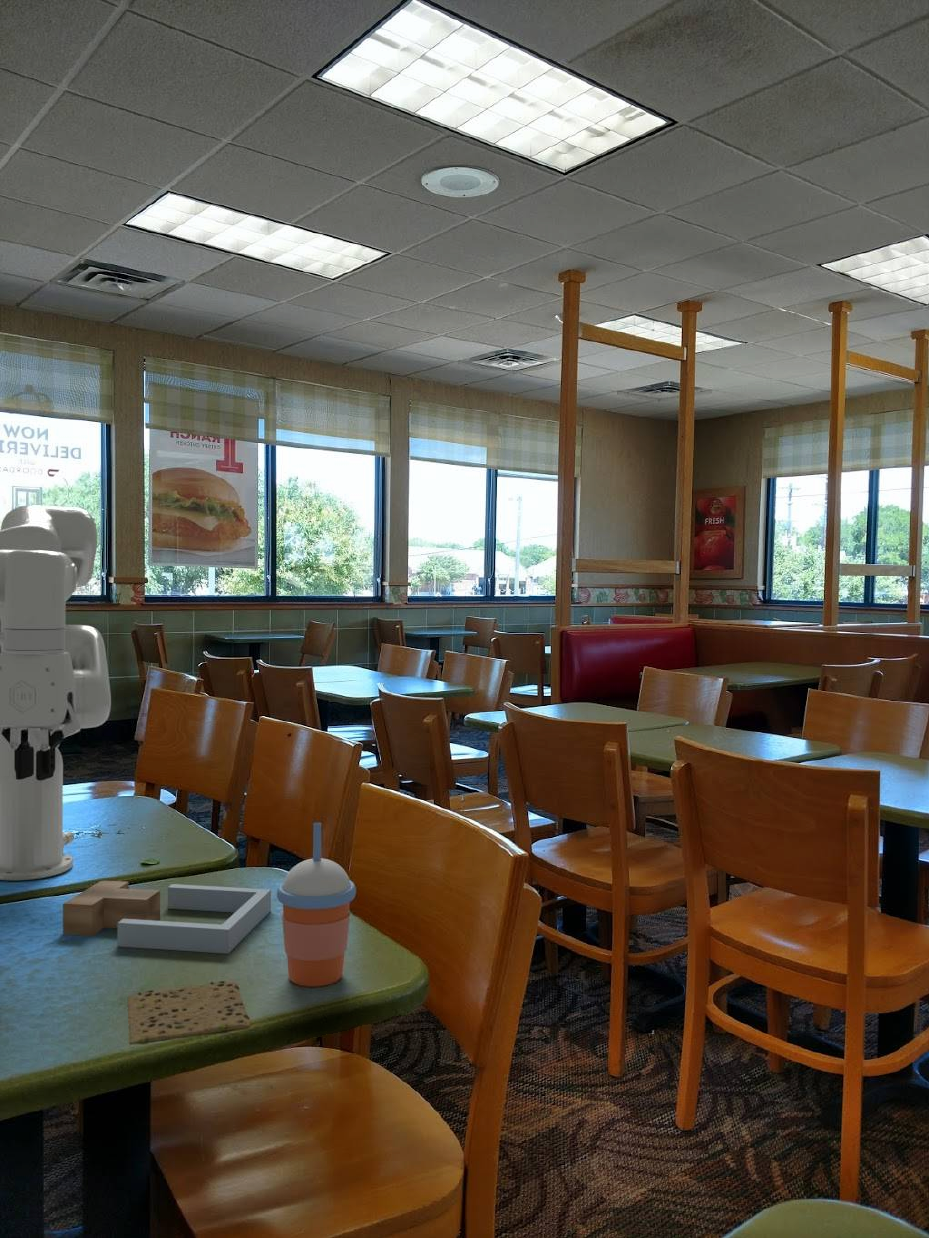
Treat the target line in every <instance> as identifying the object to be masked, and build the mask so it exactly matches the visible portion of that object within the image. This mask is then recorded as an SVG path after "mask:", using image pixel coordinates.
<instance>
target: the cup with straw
mask: <svg viewBox="0 0 929 1238" xmlns="http://www.w3.org/2000/svg"><path fill="white" fill-rule="evenodd" d="M312 836H313V837H312V838H313V841H312V842H313V843H312V844H313V845H312V849H313V851H312V854H313V855H312V857H313V858H309V859H305V860H303V861H301V862H299V863H297V864H296V865H294V866H293V867H292V868H291V869H290V870H289V872H288V873H287V874H286V875H285V878H284V881H282V882H281V883H280V884H279V885H278V887H277V889H276V898H277V900H278V901H279V903H280V904H282V911H283V912H282V914H281V918H282V932H283V942H284V943H283V944H284V952H285V954H286V958H287V959H286V960H287V961H286V962H287V969H288V970H287V971H288V979H289V980H290V981H291V982H292V983H293V984H295V985H298V986H302V987H307V988H311V987H312V988H314V987H315V988H318V987H324V986H329V985H332V984H334V983H336V982H338V981H339V980H340V979H341V978H342V976H343V971H344V963H345V962H344V961H345V953H346V951H347V949H348V948H347V947H348V937H349V929H350V928H349V927H350V922H351V920H350V918H351V910H350V905H351V904H350V903H351V902H352V901H353V900H354V898H355V897H356V894H357V890H356V889H357V888H356V886H355V883H354V882H353V881H352V880H351V879H350V878H349V876H348V874H347V872H346V870H345V869H344V868H343V867H342V866H341V865H340V864H338V863H337V862H335V861H333V860H331V859H326V858H322V823H321V822H313V835H312Z"/></svg>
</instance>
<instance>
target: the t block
mask: <svg viewBox="0 0 929 1238" xmlns="http://www.w3.org/2000/svg"><path fill="white" fill-rule="evenodd" d="M122 919H137V920H153V921H161V890H160V889H158V890H157V889H141V888H140V889H137V888H130V885H129V881H121V880H120V881H119V880H117V881H116V880H101V881H98V882H96V883H95V884H94V885H91V886H90V887H88V888H86V890H83V891H81V892H80V893H78V894H76V895H75V896H73V897H72V898H70V899H68V900H67V901H65V902H64V903H62V934H63V935H74V936H94V935H96V934H97V933H98V932H100V931H101V930H102V929H106V928H107V929H118V922H119V921H121V920H122Z"/></svg>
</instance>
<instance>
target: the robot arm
mask: <svg viewBox="0 0 929 1238" xmlns="http://www.w3.org/2000/svg"><path fill="white" fill-rule="evenodd" d="M97 548H98V529H97V525H96V522H95V519H94V518H93V516H92V515H91V514H90V513H89V511H88V510H85V509H83V508H80V507H68V506H53V505H52V506H50V505H23V506H22V505H21V506H18V507H15V508H13V509H11V510H10V511H9V512H8V513H7V514H5V516H4V517H3V519H2V521H1V526H0V881H16V882H17V881H31V880H38V879H43V878H49V877H50V878H51V877H53V876H56V875H61V874H63V873H65V872H67V871H69V870H70V869H72V867H73V866H74V859H73V857H72V856H71V855H70V854H67V853H64V848H65V846H66V845H69V844H71V843H72V842H73V841H74V840H75V836H74V833H73V832H71V831H65V832H63V831H64V829H63V825H64V824H63V823H64V822H63V820H64V818H63V817H64V813H63V812H64V810H63V808H64V806H63V805H64V804H63V800H64V797H63V793H64V791H63V789H64V787H63V786H64V779H63V778H64V762H63V760H64V759H63V756H62V753H61V751H60V750H59V746H60V744H61V743H62V742H64V740H65V739H66V738H67V737H69V736H72V735H75V734H76V733H79V732H80V731H81V729H90V728H91V729H92V728H97V727H99V726H100V727H101V726H102V725H103V724H104V723H106V721H107V720H108V718H109V717H110V713H111V708H112V707H111V706H112V696H111V695H112V694H111V684H110V677H109V676H110V675H109V670H108V669H109V668H108V661H107V651H106V646H105V642H104V638H103V636H102V634H101V632H100V631H99V630H98V629H97V628H96V627H93V626H91V625H86V624H66V606H67V605H66V604H67V602H66V601H68V600H69V599H70V598H71V597H72V595H73V593H75V592H76V591H77V588H79V587H84V586H86V585H87V584H88V583H89V582H90V580H91V579H92V576H93V573H94V567H95V560H96V553H97V550H98V549H97Z"/></svg>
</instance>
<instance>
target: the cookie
mask: <svg viewBox="0 0 929 1238" xmlns="http://www.w3.org/2000/svg"><path fill="white" fill-rule="evenodd" d="M241 996H242V995H241V992H240V986H239V985H238V983H237V982H236V981H225V980H222V981H218V982H214V981H211V982H210V983H205V984H197V985H195V986H193V985H192V986H187V987H181V988H177V989H176V988H174V989H160V990H152V989H151V990H147V991H146V992H138V993H137V994H132V995H128V996H127V1013H128V1014H127V1016H128V1017H127V1018H128V1030H129V1033H128V1036H129V1037H128V1039H129V1042H128V1044H129V1045H137V1044H145V1043H146V1044H148V1043H149V1042H151V1043H152V1042H158V1041H165V1040H172V1039H177V1038H185V1037H191V1036H192V1035H193V1036H199V1035H200V1036H201V1035H207V1034H212V1033H219V1032H221V1033H222V1032H226V1031H227V1032H228V1031H235V1030H243V1029H247V1028H250V1027H251V1022H250V1020H249V1019H250V1016H249V1015H248V1012H247V1011H246V1008H245V1004H244V1001H243V999H242V997H241ZM190 1035H191V1036H190Z"/></svg>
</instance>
